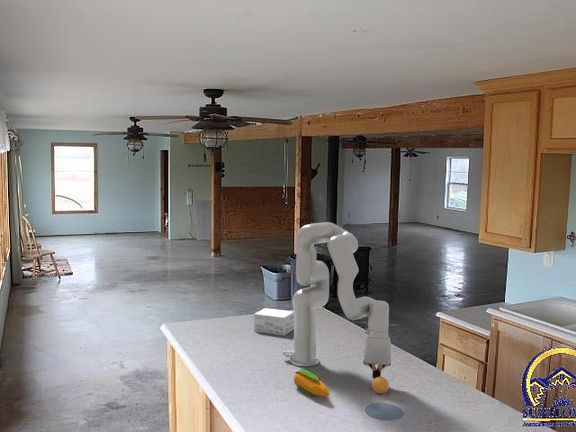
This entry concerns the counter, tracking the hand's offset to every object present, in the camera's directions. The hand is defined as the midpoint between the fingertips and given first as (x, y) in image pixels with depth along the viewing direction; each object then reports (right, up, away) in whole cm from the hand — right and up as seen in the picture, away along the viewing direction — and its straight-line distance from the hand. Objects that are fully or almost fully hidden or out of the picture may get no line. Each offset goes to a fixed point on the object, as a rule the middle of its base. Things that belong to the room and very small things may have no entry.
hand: (376, 379), depth 211 cm
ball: (0, +1, -9) cm, 9 cm away
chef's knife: (+3, +1, +37) cm, 37 cm away
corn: (-25, -2, -10) cm, 27 cm away
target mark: (-1, -4, -24) cm, 24 cm away
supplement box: (-41, +5, +67) cm, 79 cm away
